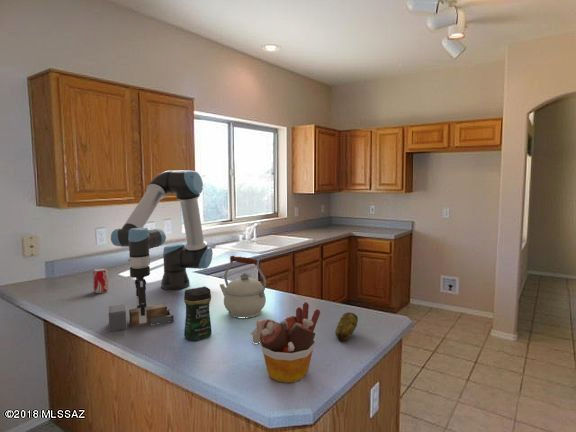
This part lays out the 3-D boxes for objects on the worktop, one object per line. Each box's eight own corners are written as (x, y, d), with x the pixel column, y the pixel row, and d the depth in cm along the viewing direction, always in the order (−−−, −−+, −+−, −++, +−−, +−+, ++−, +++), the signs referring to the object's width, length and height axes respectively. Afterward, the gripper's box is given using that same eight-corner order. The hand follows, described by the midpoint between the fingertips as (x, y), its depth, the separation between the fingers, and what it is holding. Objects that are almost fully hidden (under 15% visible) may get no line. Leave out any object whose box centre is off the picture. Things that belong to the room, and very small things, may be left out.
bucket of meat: (285, 398, 100) (285, 326, 98) (245, 376, 112) (244, 311, 110) (330, 370, 115) (331, 307, 113) (291, 353, 126) (291, 295, 124)
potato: (326, 338, 139) (326, 317, 138) (346, 328, 148) (347, 308, 147) (344, 344, 133) (344, 323, 132) (364, 334, 142) (365, 313, 141)
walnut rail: (164, 317, 160) (164, 303, 160) (167, 320, 157) (167, 306, 156) (129, 323, 153) (129, 309, 152) (131, 327, 149) (131, 312, 149)
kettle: (277, 311, 167) (276, 256, 165) (252, 324, 152) (252, 264, 149) (232, 302, 180) (232, 250, 178) (206, 313, 164) (205, 257, 162)
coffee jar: (190, 343, 134) (189, 292, 132) (181, 336, 140) (180, 287, 138) (215, 337, 140) (214, 288, 138) (205, 330, 146) (204, 283, 144)
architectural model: (249, 343, 135) (249, 323, 134) (262, 337, 140) (262, 318, 140) (256, 346, 133) (256, 325, 132) (269, 339, 138) (269, 320, 138)
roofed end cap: (125, 321, 155) (124, 304, 154) (126, 328, 147) (125, 310, 147) (109, 323, 153) (108, 306, 152) (109, 331, 145) (108, 313, 144)
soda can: (102, 294, 192) (101, 271, 191) (90, 293, 194) (89, 270, 193) (111, 290, 199) (110, 268, 198) (99, 289, 201) (98, 267, 199)
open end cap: (170, 314, 163) (170, 309, 163) (173, 321, 155) (173, 315, 155) (148, 317, 159) (148, 312, 159) (150, 325, 151) (150, 319, 151)
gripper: (128, 261, 161) (130, 309, 163) (131, 274, 139) (133, 329, 141) (146, 259, 164) (148, 306, 166) (152, 272, 142) (154, 326, 144)
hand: (141, 317), depth 154 cm, fingers open, 13 cm apart
